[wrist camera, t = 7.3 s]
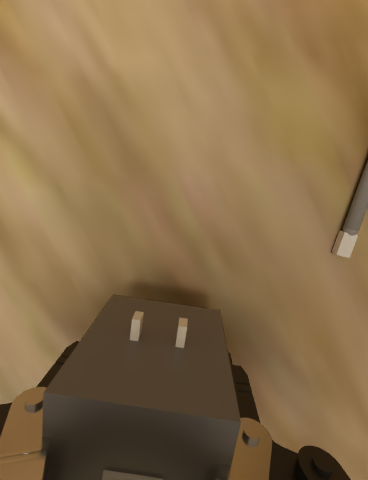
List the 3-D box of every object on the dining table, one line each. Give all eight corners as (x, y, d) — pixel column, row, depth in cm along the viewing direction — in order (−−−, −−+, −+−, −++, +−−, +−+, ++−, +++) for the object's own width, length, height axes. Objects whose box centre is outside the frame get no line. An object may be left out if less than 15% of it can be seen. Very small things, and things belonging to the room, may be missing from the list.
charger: (222, 294, 12) (247, 398, 7) (203, 400, 14) (209, 568, 8) (114, 278, 13) (42, 367, 7) (105, 385, 14) (36, 542, 8)
